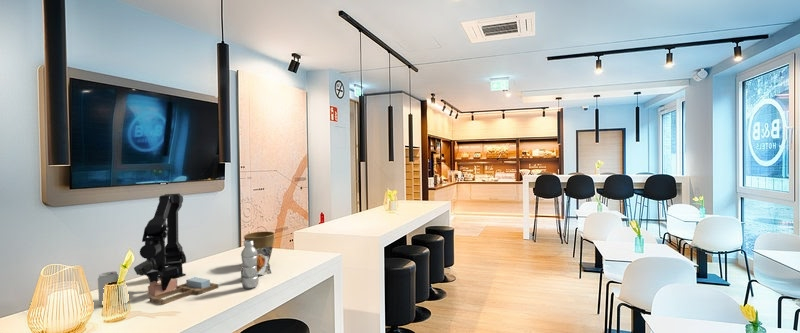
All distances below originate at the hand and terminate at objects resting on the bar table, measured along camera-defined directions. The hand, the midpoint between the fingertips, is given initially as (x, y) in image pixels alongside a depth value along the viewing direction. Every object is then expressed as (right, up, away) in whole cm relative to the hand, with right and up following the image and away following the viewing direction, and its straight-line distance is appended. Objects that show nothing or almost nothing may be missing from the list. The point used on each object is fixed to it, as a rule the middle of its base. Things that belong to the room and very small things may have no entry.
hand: (159, 289), depth 159 cm
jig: (+12, -1, -3) cm, 12 cm away
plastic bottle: (+38, 0, +1) cm, 38 cm away
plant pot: (+29, +1, +37) cm, 47 cm away
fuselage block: (+2, -1, 0) cm, 2 cm away
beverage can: (-12, -2, -12) cm, 17 cm away
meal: (+36, 0, +15) cm, 39 cm away
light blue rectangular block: (+15, -1, +3) cm, 15 cm away
